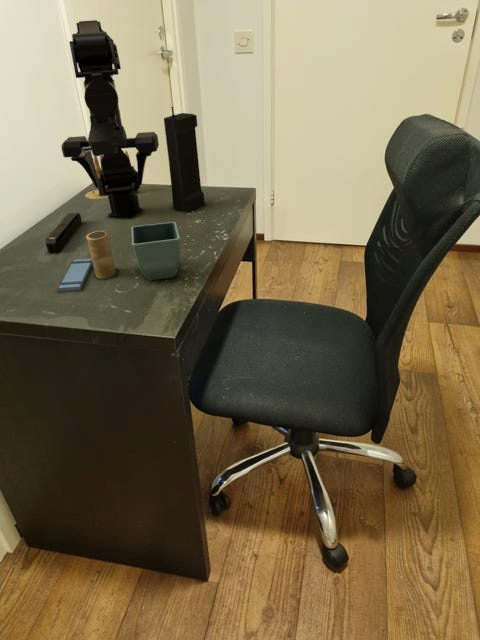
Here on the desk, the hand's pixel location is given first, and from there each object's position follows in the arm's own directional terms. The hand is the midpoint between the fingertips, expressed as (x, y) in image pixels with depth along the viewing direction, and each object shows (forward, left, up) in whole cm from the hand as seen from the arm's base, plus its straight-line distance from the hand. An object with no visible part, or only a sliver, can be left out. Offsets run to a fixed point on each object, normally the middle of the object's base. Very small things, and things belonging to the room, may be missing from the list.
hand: (119, 186), depth 100 cm
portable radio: (+5, +24, -13) cm, 28 cm away
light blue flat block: (-3, -17, -13) cm, 22 cm away
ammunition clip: (-20, +30, -13) cm, 38 cm away
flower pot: (+14, -13, -13) cm, 23 cm away
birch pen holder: (+3, -15, -13) cm, 20 cm away
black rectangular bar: (-17, 0, -13) cm, 22 cm away
